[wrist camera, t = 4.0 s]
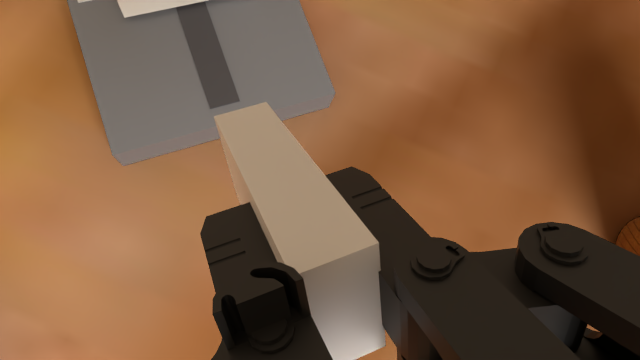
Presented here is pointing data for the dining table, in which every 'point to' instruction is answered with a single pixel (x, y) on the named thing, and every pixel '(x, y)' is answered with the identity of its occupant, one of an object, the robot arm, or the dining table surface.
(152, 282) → the dining table surface
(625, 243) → the disposable coffee cup
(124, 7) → the fader tab
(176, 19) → the slider board
